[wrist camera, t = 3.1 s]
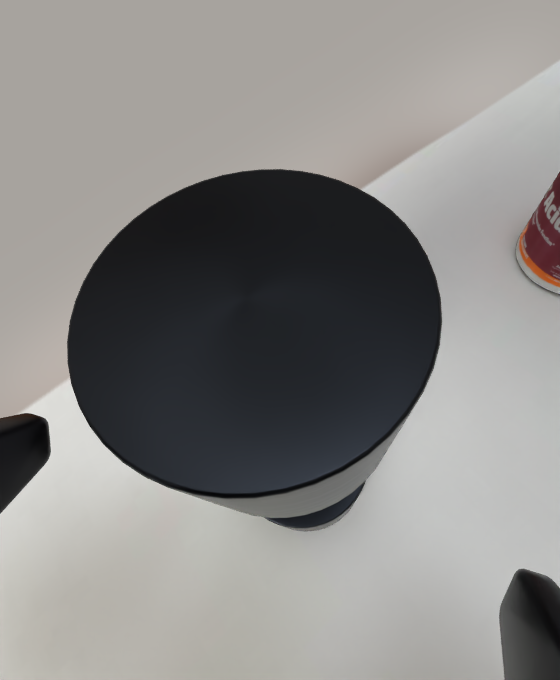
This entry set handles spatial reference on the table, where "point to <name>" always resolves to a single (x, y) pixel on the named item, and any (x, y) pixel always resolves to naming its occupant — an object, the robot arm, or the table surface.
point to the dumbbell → (257, 342)
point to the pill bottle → (543, 242)
